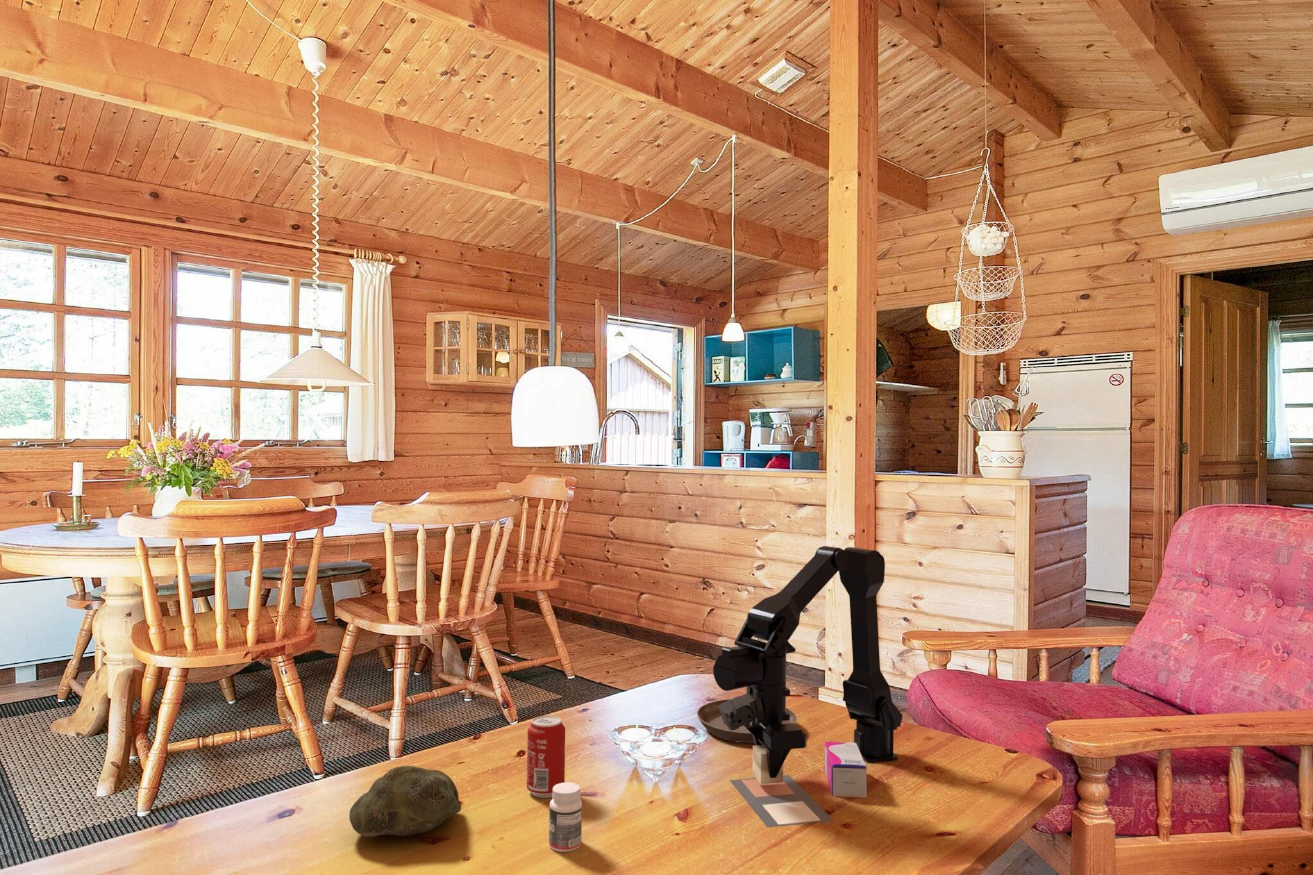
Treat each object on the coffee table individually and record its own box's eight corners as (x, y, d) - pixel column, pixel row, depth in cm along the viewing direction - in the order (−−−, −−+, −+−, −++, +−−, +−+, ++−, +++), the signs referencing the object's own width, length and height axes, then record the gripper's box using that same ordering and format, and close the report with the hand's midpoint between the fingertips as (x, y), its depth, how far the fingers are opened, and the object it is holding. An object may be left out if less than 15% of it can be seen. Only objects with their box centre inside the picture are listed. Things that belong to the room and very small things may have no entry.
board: (788, 778, 144) (788, 774, 144) (834, 824, 126) (834, 820, 126) (729, 783, 141) (729, 779, 141) (767, 831, 124) (767, 827, 124)
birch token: (774, 773, 141) (774, 744, 141) (783, 782, 137) (783, 752, 137) (752, 774, 140) (752, 745, 140) (760, 784, 136) (761, 754, 136)
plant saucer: (804, 748, 159) (805, 731, 159) (699, 746, 159) (699, 729, 159) (788, 714, 180) (788, 699, 180) (694, 713, 180) (695, 697, 180)
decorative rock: (374, 816, 130) (374, 752, 132) (472, 812, 130) (471, 747, 131) (335, 853, 116) (334, 779, 117) (445, 848, 115) (443, 774, 116)
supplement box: (867, 802, 135) (856, 773, 147) (867, 766, 135) (857, 740, 146) (831, 800, 136) (824, 771, 147) (831, 765, 136) (824, 739, 147)
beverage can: (571, 788, 138) (572, 717, 139) (551, 802, 133) (552, 728, 133) (539, 781, 141) (541, 712, 141) (519, 795, 135) (520, 722, 136)
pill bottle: (549, 837, 121) (550, 781, 121) (581, 836, 121) (582, 780, 121) (548, 853, 116) (548, 794, 116) (581, 852, 117) (582, 793, 117)
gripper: (707, 668, 146) (706, 756, 146) (742, 700, 128) (741, 799, 128) (766, 665, 149) (765, 751, 149) (808, 696, 131) (807, 793, 131)
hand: (768, 772), depth 139 cm, fingers closed on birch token, 4 cm apart
